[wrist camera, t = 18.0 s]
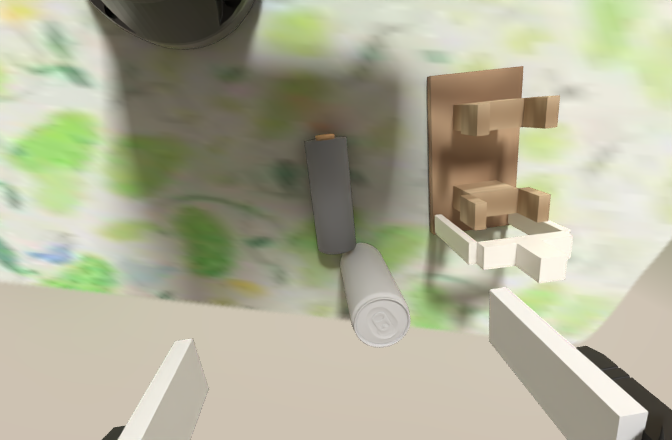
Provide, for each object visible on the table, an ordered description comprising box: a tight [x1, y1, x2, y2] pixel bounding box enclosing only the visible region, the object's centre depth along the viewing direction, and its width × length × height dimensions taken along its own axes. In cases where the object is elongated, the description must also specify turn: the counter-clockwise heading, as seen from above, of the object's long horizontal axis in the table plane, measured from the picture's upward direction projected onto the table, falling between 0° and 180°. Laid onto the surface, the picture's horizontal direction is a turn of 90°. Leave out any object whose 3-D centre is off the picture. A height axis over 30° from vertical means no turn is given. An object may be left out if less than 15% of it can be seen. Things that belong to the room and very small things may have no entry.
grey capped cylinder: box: [304, 134, 356, 254], centre depth 34 cm, size 12×4×4 cm
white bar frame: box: [435, 213, 573, 283], centre depth 31 cm, size 2×9×12 cm, turn 96°
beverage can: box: [340, 243, 410, 347], centre depth 33 cm, size 5×5×12 cm
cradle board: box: [427, 66, 560, 235], centre depth 32 cm, size 16×9×8 cm, turn 6°
